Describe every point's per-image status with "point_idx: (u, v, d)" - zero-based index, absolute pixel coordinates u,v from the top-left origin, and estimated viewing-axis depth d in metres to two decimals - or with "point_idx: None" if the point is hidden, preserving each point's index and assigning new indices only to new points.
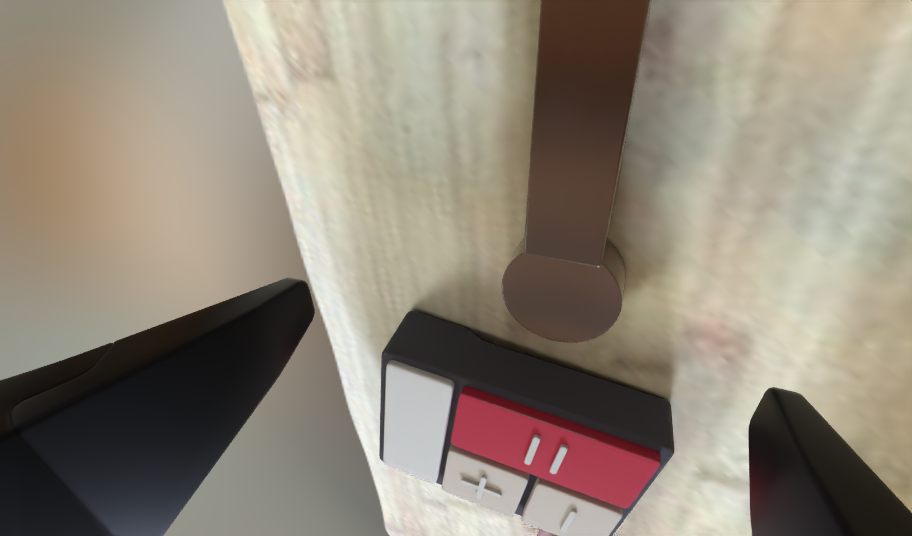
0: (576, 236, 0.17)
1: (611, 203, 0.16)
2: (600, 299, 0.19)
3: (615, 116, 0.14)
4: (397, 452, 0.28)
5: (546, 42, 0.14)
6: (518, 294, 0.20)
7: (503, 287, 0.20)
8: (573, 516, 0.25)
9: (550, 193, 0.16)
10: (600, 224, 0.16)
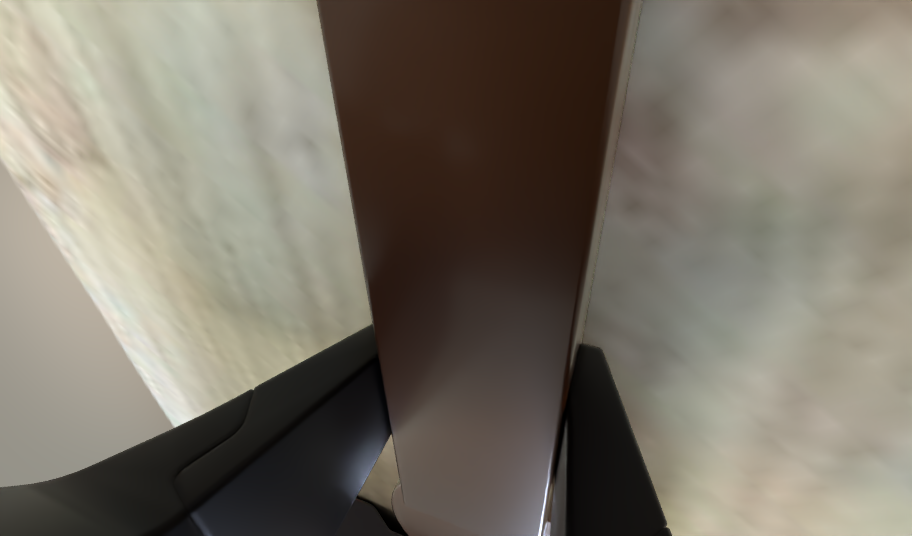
0: (490, 508, 0.08)
1: (550, 480, 0.07)
2: None
3: (543, 345, 0.06)
4: None
5: (362, 176, 0.05)
6: (418, 523, 0.12)
7: (394, 509, 0.12)
8: None
9: (429, 440, 0.08)
10: (531, 505, 0.08)
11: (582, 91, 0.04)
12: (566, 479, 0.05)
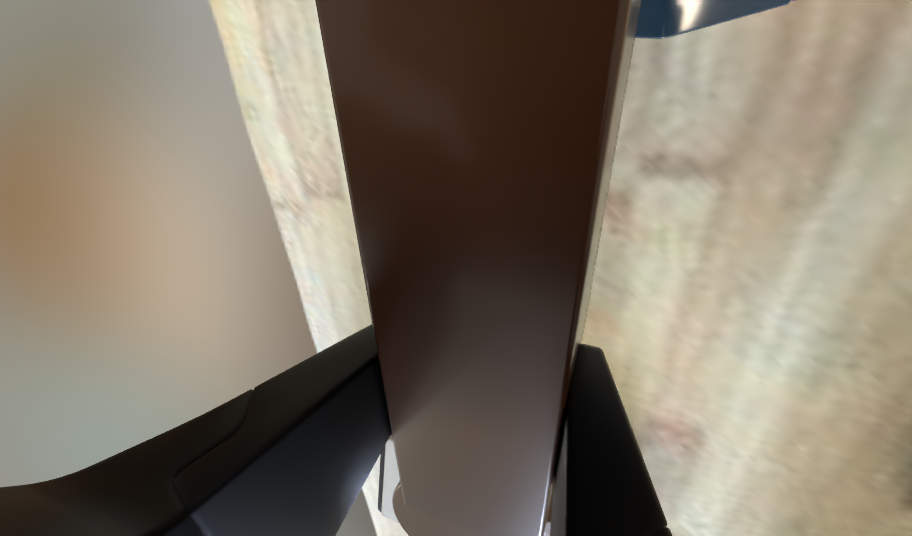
0: (490, 509, 0.08)
1: (550, 481, 0.07)
2: None
3: (542, 345, 0.06)
4: None
5: (362, 178, 0.05)
6: (419, 523, 0.12)
7: (395, 510, 0.12)
8: None
9: (429, 440, 0.08)
10: (532, 505, 0.08)
11: (580, 94, 0.04)
12: (566, 479, 0.05)
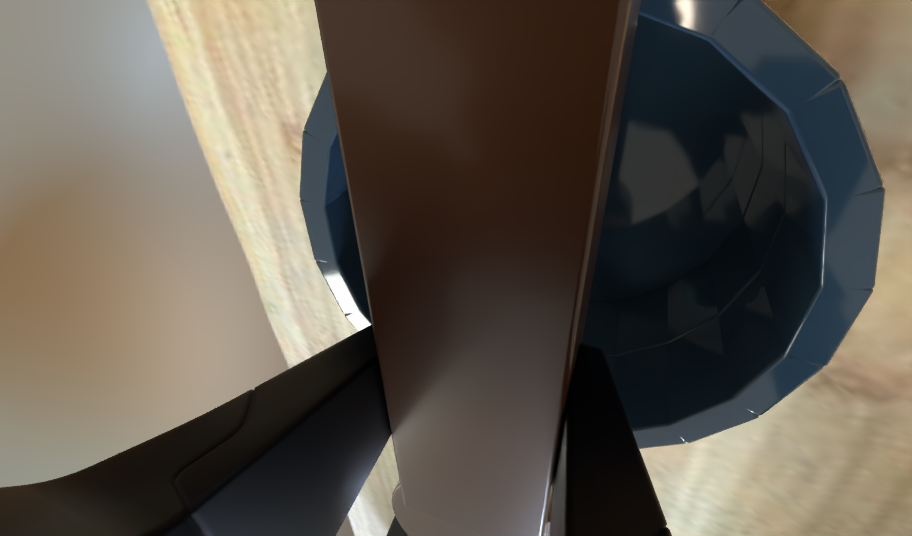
0: (490, 509, 0.08)
1: (550, 481, 0.07)
2: None
3: (542, 345, 0.06)
4: None
5: (361, 176, 0.05)
6: (419, 523, 0.12)
7: (395, 510, 0.12)
8: None
9: (429, 440, 0.08)
10: (531, 505, 0.08)
11: (580, 91, 0.04)
12: (566, 479, 0.05)
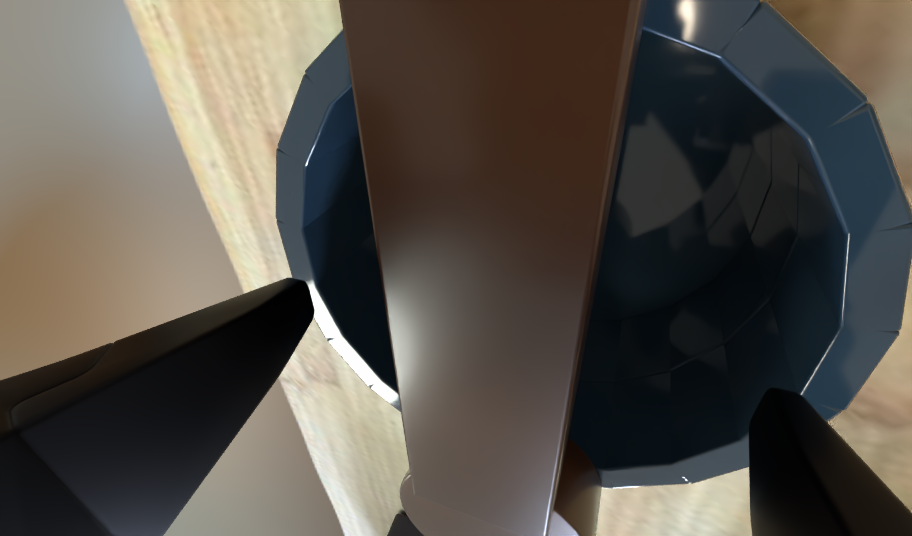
0: (498, 497, 0.09)
1: (557, 467, 0.08)
2: None
3: (552, 334, 0.06)
4: None
5: (380, 173, 0.06)
6: (426, 514, 0.12)
7: (402, 501, 0.13)
8: None
9: (440, 429, 0.08)
10: (538, 492, 0.08)
11: (591, 93, 0.04)
12: None
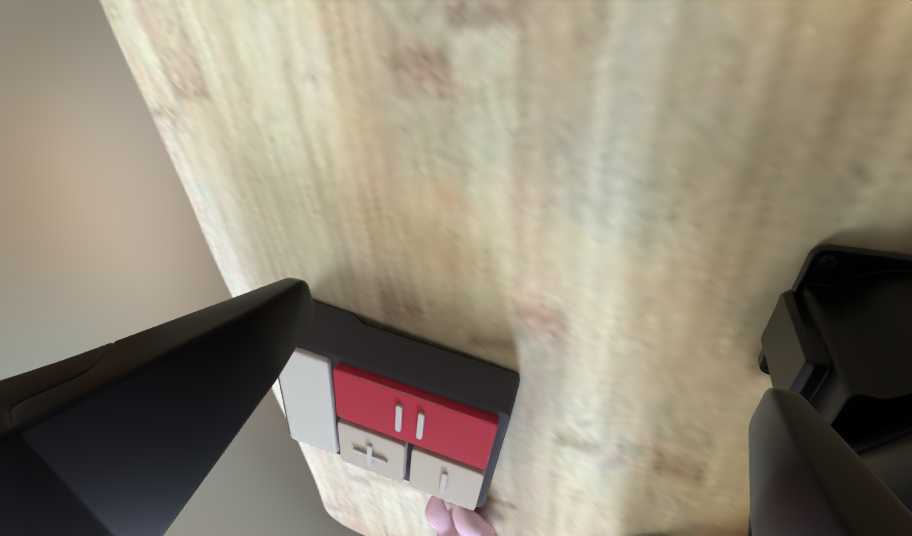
0: None
1: None
2: None
3: None
4: (300, 426, 0.31)
5: None
6: None
7: None
8: (445, 478, 0.28)
9: None
10: None
11: None
12: None
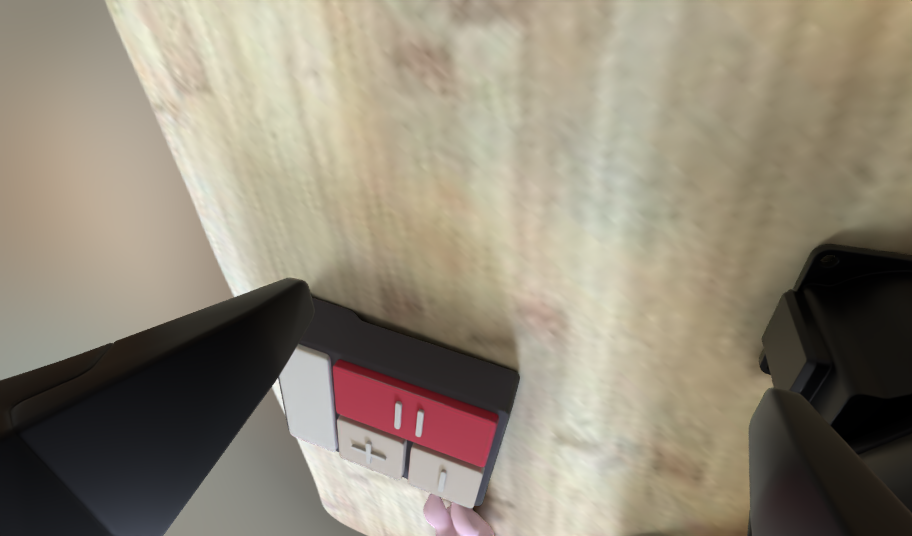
0: None
1: None
2: None
3: None
4: (299, 423, 0.31)
5: None
6: None
7: None
8: (444, 476, 0.28)
9: None
10: None
11: None
12: None
